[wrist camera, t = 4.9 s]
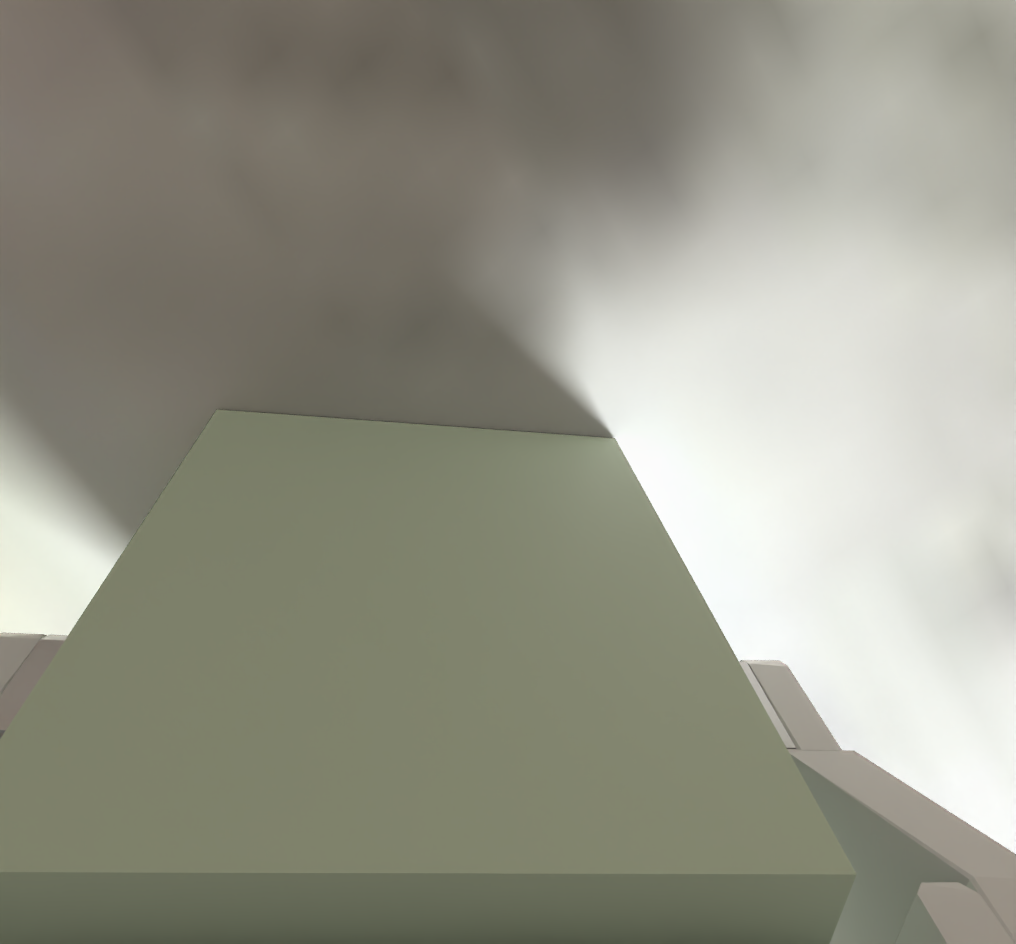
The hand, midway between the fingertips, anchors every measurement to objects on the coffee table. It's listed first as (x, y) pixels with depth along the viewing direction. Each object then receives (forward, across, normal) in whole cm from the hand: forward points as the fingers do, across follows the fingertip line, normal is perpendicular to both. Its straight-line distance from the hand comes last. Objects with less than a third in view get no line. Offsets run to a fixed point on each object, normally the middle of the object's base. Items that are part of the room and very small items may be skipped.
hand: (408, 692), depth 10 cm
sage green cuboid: (+4, 0, 0) cm, 4 cm away
